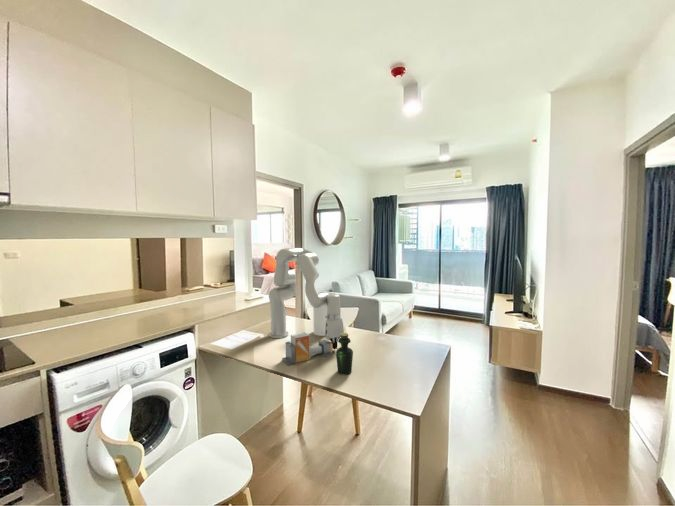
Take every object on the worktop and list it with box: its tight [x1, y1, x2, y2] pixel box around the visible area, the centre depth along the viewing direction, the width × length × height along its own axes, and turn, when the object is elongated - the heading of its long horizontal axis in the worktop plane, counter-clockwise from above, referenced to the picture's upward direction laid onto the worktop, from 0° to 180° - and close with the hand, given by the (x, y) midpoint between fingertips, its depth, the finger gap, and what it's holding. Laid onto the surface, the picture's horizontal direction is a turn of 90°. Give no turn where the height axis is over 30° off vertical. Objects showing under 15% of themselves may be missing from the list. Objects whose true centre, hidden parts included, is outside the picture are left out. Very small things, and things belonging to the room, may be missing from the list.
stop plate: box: [281, 341, 296, 367], centre depth 145 cm, size 8×4×9 cm, turn 31°
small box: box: [290, 331, 310, 364], centre depth 148 cm, size 8×6×13 cm
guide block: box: [317, 338, 333, 358], centre depth 156 cm, size 9×5×6 cm, turn 31°
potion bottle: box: [335, 332, 354, 376], centre depth 134 cm, size 8×8×18 cm
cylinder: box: [312, 305, 327, 337], centre depth 189 cm, size 12×12×25 cm
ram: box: [309, 340, 334, 359], centre depth 154 cm, size 6×14×6 cm, turn 121°
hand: (334, 348), depth 159 cm, fingers closed
